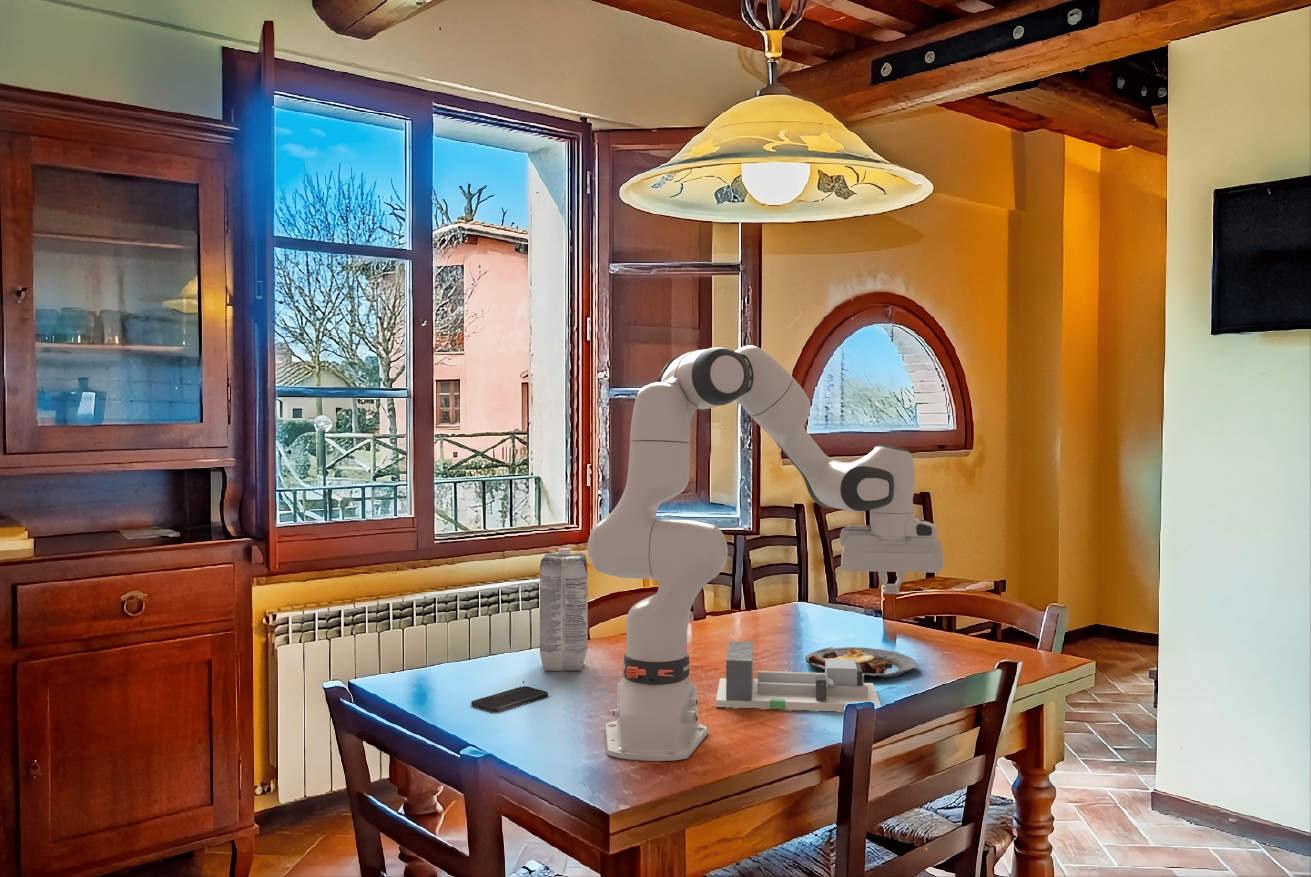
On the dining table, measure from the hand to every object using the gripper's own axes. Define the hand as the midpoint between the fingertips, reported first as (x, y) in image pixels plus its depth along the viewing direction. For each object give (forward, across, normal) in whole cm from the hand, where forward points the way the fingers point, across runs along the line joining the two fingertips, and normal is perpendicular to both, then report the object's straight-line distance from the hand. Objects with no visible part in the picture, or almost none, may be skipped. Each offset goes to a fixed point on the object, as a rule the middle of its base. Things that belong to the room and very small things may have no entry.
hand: (891, 593), depth 203 cm
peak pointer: (+20, -14, -9) cm, 26 cm away
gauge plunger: (+20, -10, -3) cm, 22 cm away
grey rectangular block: (+20, -31, -3) cm, 37 cm away
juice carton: (+22, -71, +15) cm, 76 cm away
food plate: (+22, -4, +23) cm, 32 cm away
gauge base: (+22, -19, -3) cm, 29 cm away
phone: (+22, -76, -11) cm, 80 cm away
